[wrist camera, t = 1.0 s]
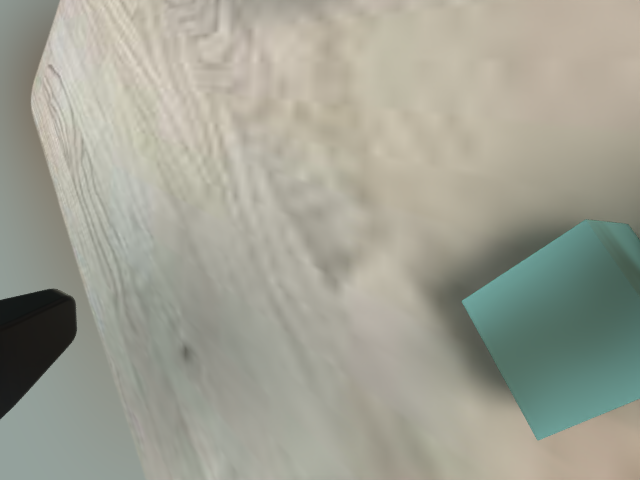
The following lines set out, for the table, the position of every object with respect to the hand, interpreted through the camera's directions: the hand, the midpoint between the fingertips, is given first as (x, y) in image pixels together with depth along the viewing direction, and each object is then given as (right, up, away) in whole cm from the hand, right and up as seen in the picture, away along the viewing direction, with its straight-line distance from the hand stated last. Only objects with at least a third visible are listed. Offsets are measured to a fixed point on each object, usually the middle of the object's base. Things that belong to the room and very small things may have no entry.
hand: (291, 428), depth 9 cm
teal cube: (+11, 0, +11) cm, 15 cm away
